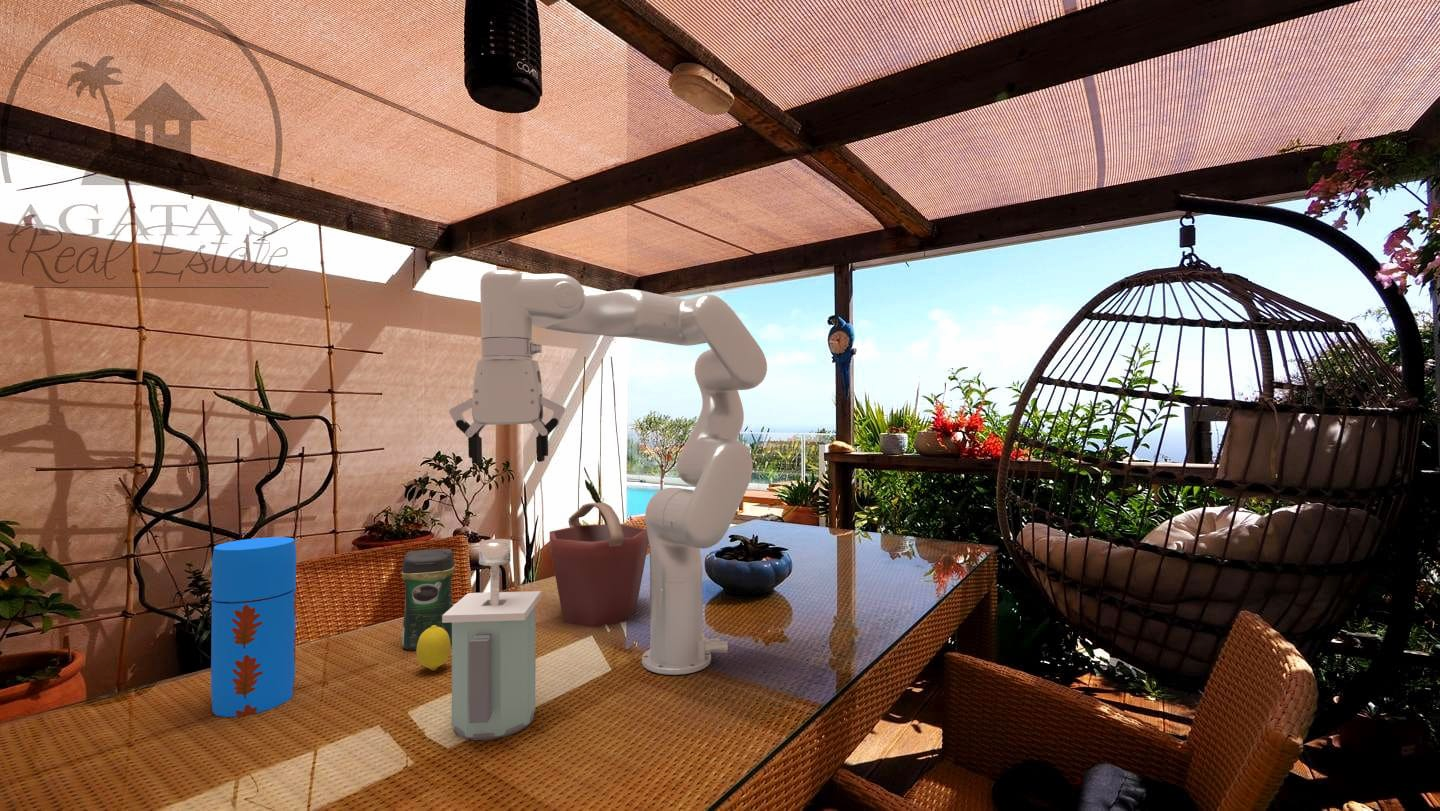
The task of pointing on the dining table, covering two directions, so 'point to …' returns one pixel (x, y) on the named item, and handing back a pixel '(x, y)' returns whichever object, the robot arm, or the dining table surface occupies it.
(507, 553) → the plunger
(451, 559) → the coffee jar
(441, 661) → the lemon
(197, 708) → the dining table surface
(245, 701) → the thermos
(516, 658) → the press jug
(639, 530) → the bucket
